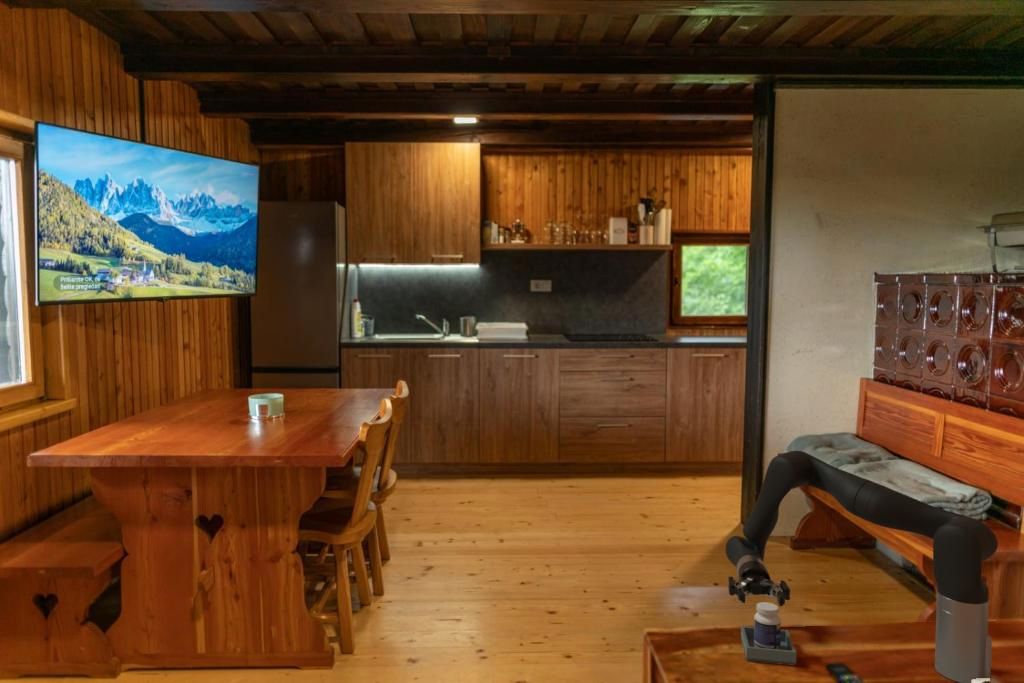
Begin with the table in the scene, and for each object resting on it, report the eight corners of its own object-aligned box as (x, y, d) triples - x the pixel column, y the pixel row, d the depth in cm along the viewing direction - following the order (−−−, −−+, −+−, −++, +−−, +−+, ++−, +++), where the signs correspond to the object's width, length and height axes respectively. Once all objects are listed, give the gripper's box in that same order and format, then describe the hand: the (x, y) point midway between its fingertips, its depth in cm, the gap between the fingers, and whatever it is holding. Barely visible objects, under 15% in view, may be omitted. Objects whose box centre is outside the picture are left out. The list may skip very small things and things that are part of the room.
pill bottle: (782, 655, 153) (782, 612, 152) (755, 653, 154) (756, 610, 153) (778, 643, 158) (778, 601, 158) (752, 641, 160) (752, 599, 159)
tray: (787, 642, 160) (787, 630, 160) (796, 665, 150) (796, 652, 150) (741, 638, 162) (741, 626, 162) (746, 660, 152) (746, 647, 152)
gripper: (724, 558, 180) (731, 583, 164) (781, 562, 177) (794, 588, 161) (724, 585, 180) (731, 613, 165) (781, 590, 177) (793, 618, 162)
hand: (762, 600), depth 163 cm, fingers open, 8 cm apart
